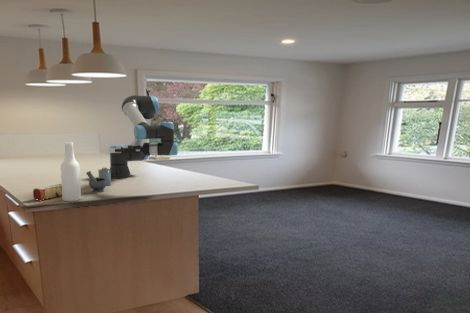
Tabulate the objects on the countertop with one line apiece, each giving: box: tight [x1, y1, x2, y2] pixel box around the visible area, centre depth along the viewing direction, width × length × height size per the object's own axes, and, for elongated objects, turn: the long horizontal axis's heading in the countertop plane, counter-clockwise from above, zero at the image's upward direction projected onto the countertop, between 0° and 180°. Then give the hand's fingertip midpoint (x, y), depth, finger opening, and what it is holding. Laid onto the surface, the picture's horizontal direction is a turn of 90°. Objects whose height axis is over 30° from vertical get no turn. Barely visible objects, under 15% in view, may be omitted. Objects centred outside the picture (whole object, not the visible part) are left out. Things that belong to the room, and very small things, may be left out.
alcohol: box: [60, 141, 82, 202], centre depth 173 cm, size 9×9×30 cm
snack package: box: [32, 183, 62, 201], centre depth 181 cm, size 21×7×7 cm, turn 153°
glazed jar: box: [98, 167, 112, 187], centre depth 209 cm, size 7×7×11 cm
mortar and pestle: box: [85, 170, 107, 193], centre depth 193 cm, size 11×9×12 cm
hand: (112, 149), depth 191 cm, fingers open, 13 cm apart
